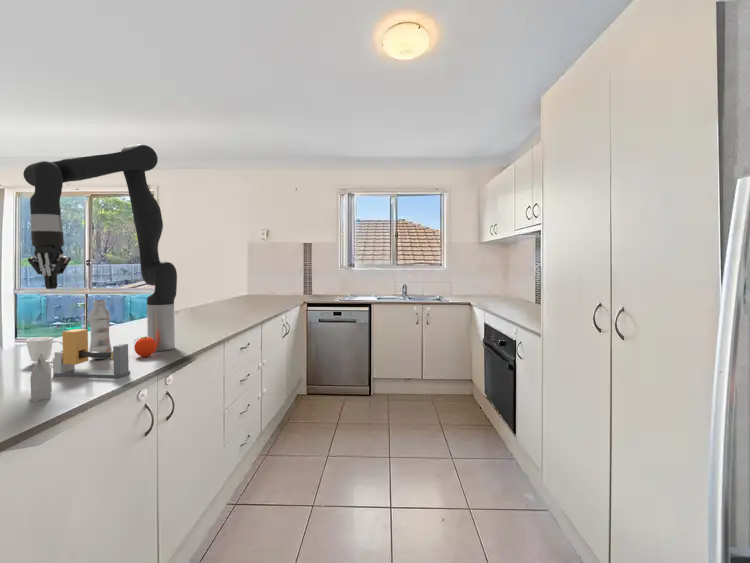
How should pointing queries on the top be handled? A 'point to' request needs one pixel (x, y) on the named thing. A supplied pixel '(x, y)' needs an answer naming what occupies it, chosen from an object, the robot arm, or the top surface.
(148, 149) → the robot arm
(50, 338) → the cup
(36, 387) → the milk carton
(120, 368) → the gray horizontal rod stand
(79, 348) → the sleeve
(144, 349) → the clementine
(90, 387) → the top surface
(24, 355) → the top surface
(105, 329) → the plastic bottle
